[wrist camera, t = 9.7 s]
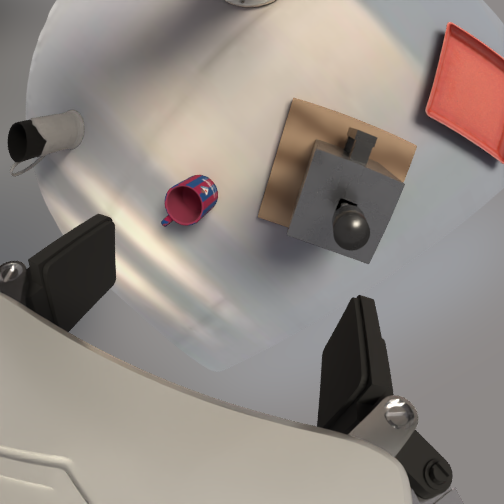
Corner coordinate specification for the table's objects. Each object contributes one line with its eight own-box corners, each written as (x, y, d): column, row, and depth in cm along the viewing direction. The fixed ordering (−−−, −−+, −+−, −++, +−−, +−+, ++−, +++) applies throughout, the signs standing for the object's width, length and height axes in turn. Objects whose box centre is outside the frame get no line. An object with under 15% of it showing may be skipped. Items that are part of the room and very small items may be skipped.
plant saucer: (519, 79, 27) (529, 78, 24) (497, 163, 35) (506, 166, 33) (440, 24, 28) (447, 19, 25) (417, 113, 37) (423, 114, 34)
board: (294, 98, 40) (293, 97, 39) (414, 144, 39) (417, 145, 37) (259, 214, 49) (257, 217, 48) (369, 252, 48) (370, 256, 47)
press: (323, 117, 39) (326, 117, 26) (385, 142, 38) (416, 154, 25) (296, 198, 45) (286, 235, 32) (355, 220, 45) (368, 264, 32)
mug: (225, 200, 50) (212, 212, 44) (183, 226, 54) (166, 241, 48) (204, 167, 48) (187, 175, 42) (163, 196, 52) (143, 208, 46)
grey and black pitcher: (90, 127, 48) (34, 139, 35) (62, 174, 55) (13, 195, 41) (70, 102, 47) (15, 109, 33) (44, 149, 53) (-5, 165, 40)
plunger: (320, 147, 41) (323, 172, 22) (370, 166, 40) (411, 208, 22) (304, 195, 45) (292, 257, 26) (352, 213, 44) (373, 285, 26)
